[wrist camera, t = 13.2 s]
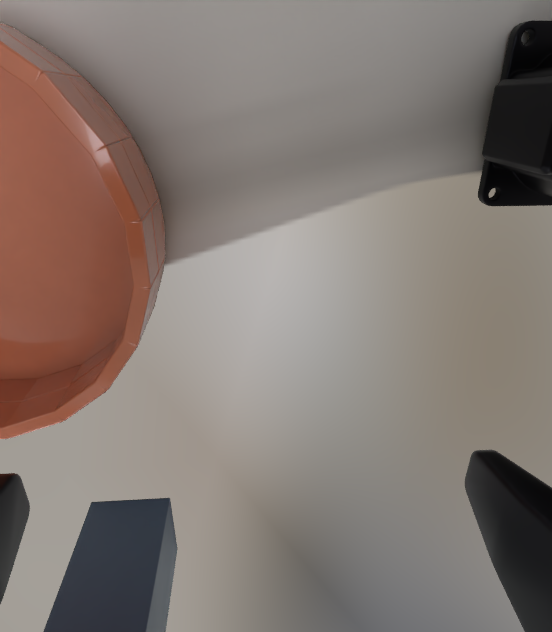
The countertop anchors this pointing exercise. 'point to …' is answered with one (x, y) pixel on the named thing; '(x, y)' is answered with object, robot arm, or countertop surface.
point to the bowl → (68, 239)
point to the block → (119, 570)
